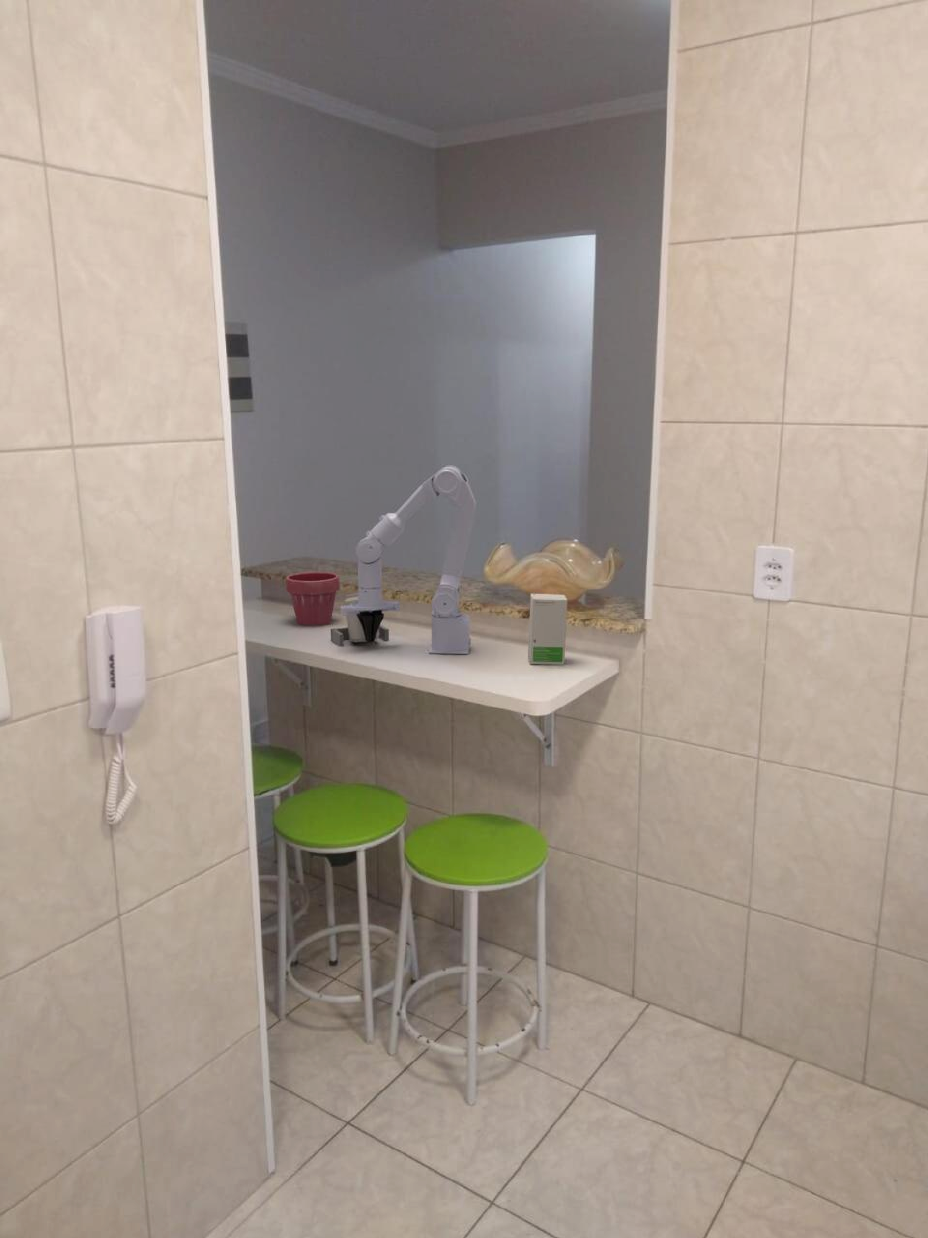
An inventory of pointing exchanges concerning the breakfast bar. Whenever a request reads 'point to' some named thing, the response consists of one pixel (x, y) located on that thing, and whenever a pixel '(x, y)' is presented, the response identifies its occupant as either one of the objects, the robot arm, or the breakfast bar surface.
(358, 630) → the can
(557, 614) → the skincare box
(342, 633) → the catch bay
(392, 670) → the breakfast bar surface
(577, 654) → the breakfast bar surface
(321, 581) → the plant pot
